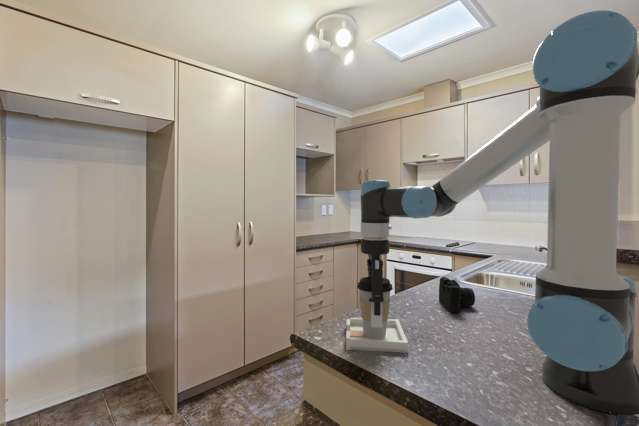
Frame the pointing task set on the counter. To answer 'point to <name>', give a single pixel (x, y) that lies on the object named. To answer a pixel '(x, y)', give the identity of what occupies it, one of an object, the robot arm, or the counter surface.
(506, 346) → the counter surface
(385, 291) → the coffee cup
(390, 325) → the tray
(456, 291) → the camera
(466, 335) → the counter surface
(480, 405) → the counter surface
